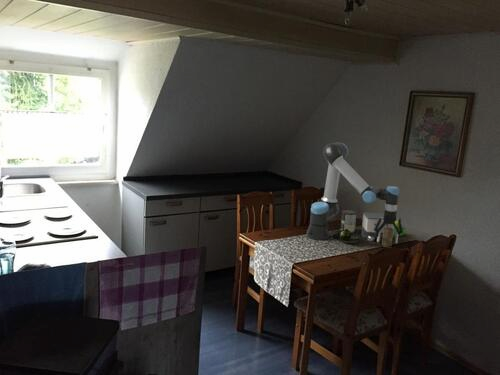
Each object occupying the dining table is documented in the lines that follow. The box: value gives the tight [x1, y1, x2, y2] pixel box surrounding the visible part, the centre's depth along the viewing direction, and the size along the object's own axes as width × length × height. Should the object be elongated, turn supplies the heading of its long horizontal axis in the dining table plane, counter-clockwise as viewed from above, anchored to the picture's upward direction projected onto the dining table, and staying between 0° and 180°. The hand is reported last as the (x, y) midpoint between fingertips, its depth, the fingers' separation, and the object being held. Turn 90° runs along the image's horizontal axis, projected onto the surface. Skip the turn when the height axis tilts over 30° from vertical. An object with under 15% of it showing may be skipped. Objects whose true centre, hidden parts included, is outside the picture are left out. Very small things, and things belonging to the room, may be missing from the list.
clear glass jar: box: [340, 209, 357, 233], centre depth 308 cm, size 10×10×14 cm
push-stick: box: [379, 227, 394, 248], centre depth 282 cm, size 5×15×12 cm, turn 176°
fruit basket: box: [393, 220, 407, 238], centre depth 302 cm, size 11×9×11 cm
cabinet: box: [360, 211, 394, 240], centre depth 289 cm, size 19×16×17 cm
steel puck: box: [367, 235, 376, 242], centre depth 288 cm, size 4×4×3 cm
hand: (387, 242), depth 277 cm, fingers open, 11 cm apart
